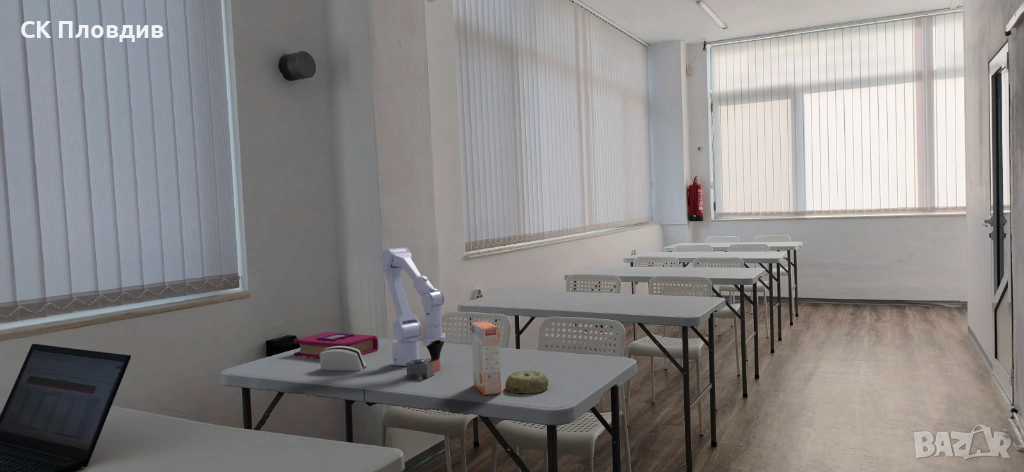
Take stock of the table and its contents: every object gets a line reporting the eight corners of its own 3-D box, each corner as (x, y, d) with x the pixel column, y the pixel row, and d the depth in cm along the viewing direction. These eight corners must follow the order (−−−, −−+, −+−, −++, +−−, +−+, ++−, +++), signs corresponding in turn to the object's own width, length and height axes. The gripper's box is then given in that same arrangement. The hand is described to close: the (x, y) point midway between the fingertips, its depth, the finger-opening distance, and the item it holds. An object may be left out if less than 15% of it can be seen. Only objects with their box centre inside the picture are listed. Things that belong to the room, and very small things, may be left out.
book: (330, 346, 305) (329, 329, 305) (379, 351, 291) (378, 333, 291) (292, 356, 287) (291, 338, 287) (342, 362, 273) (341, 343, 273)
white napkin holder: (367, 367, 260) (362, 344, 257) (362, 374, 256) (357, 351, 252) (327, 366, 264) (321, 343, 261) (321, 373, 260) (315, 350, 257)
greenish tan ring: (557, 389, 220) (556, 373, 219) (522, 397, 212) (522, 381, 212) (531, 381, 231) (530, 366, 231) (497, 389, 223) (496, 373, 223)
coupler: (429, 366, 257) (428, 351, 257) (448, 368, 254) (447, 352, 254) (402, 379, 239) (401, 363, 239) (422, 381, 236) (421, 364, 236)
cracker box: (502, 393, 216) (499, 326, 215) (483, 396, 215) (480, 328, 214) (490, 383, 230) (488, 320, 229) (473, 385, 228) (470, 321, 227)
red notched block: (419, 373, 247) (418, 362, 247) (428, 369, 253) (428, 358, 253) (430, 374, 245) (430, 363, 245) (440, 369, 252) (439, 358, 251)
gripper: (434, 328, 244) (435, 366, 245) (452, 321, 258) (454, 357, 258) (416, 327, 247) (418, 365, 248) (435, 320, 260) (437, 357, 261)
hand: (435, 361), depth 253 cm, fingers closed
